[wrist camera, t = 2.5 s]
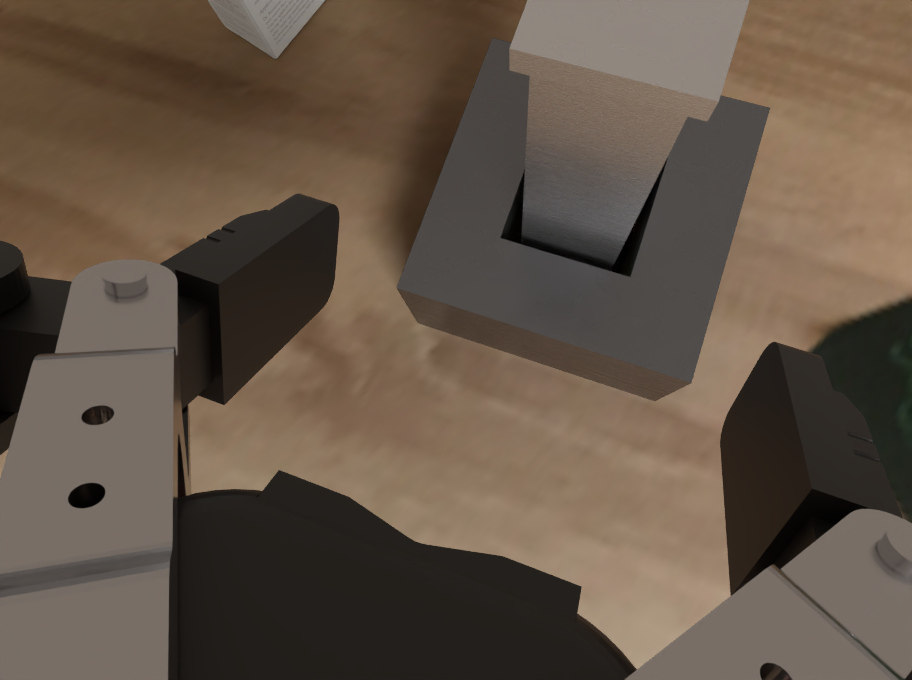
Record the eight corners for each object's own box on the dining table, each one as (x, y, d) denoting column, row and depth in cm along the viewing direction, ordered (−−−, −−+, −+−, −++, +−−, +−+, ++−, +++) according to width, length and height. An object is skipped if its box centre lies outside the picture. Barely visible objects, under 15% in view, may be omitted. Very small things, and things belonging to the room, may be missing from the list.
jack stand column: (509, 276, 31) (509, 48, 14) (539, 191, 32) (572, -120, 15) (603, 306, 30) (719, 101, 14) (632, 217, 31) (772, -77, 14)
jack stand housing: (417, 322, 31) (394, 284, 25) (495, 115, 33) (492, 30, 27) (654, 400, 29) (695, 380, 23) (721, 176, 31) (775, 100, 25)
